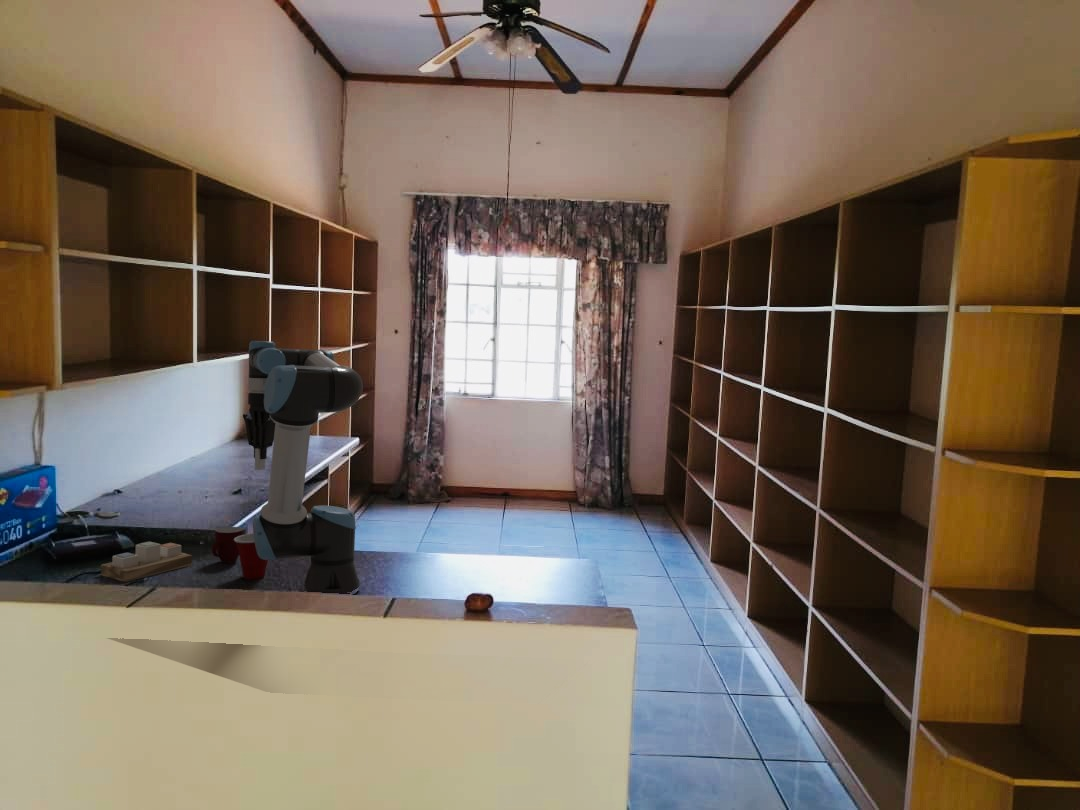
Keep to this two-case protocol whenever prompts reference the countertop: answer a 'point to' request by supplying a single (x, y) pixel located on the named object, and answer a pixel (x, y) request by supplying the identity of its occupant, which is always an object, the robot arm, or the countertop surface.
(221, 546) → the mug
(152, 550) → the beige wooden cube
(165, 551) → the beige cube
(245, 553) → the plastic cup
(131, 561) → the off-white cube
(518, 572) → the countertop surface
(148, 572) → the keypad board
